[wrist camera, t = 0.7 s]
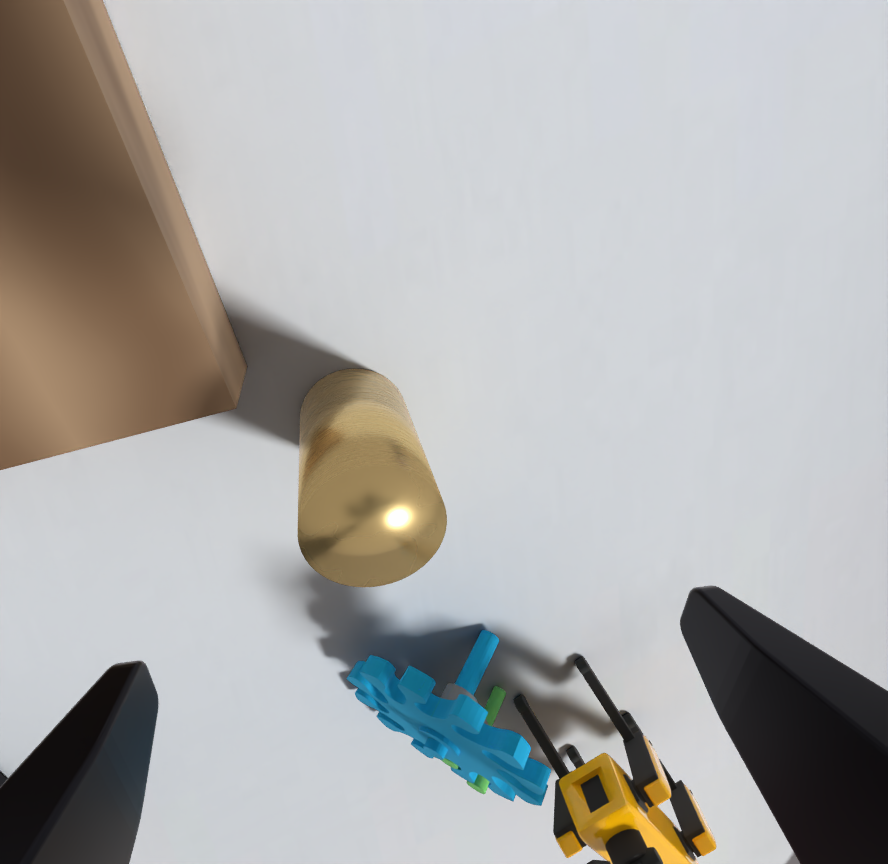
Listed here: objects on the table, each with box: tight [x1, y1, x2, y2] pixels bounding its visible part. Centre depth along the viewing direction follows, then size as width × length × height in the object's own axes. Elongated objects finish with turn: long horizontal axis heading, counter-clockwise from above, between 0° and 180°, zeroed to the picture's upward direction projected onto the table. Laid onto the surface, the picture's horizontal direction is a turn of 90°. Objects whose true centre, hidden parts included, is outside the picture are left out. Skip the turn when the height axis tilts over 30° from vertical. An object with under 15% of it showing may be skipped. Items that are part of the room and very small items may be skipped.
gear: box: [347, 630, 551, 806], centre depth 26 cm, size 11×6×10 cm
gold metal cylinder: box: [298, 368, 447, 587], centre depth 18 cm, size 4×4×7 cm
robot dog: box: [514, 657, 716, 864], centre depth 26 cm, size 6×18×13 cm, turn 33°
